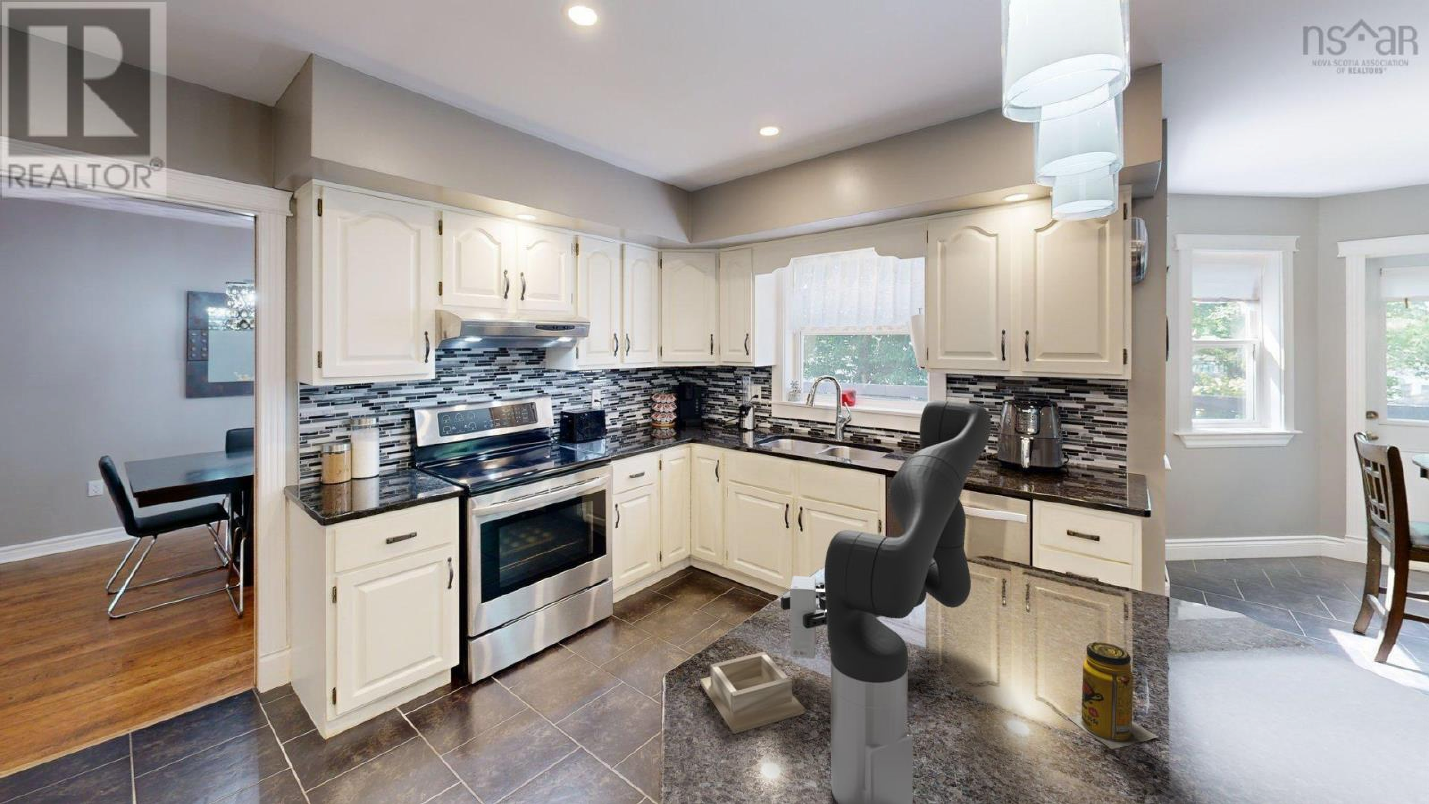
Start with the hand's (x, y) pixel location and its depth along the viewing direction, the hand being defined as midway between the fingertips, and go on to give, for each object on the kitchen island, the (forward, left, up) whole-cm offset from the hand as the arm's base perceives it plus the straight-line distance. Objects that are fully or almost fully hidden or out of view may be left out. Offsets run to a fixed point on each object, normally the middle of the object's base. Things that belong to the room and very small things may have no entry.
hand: (792, 612), depth 97 cm
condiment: (-31, -35, -12) cm, 48 cm away
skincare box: (0, -2, -7) cm, 8 cm away
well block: (-3, +10, -11) cm, 15 cm away
